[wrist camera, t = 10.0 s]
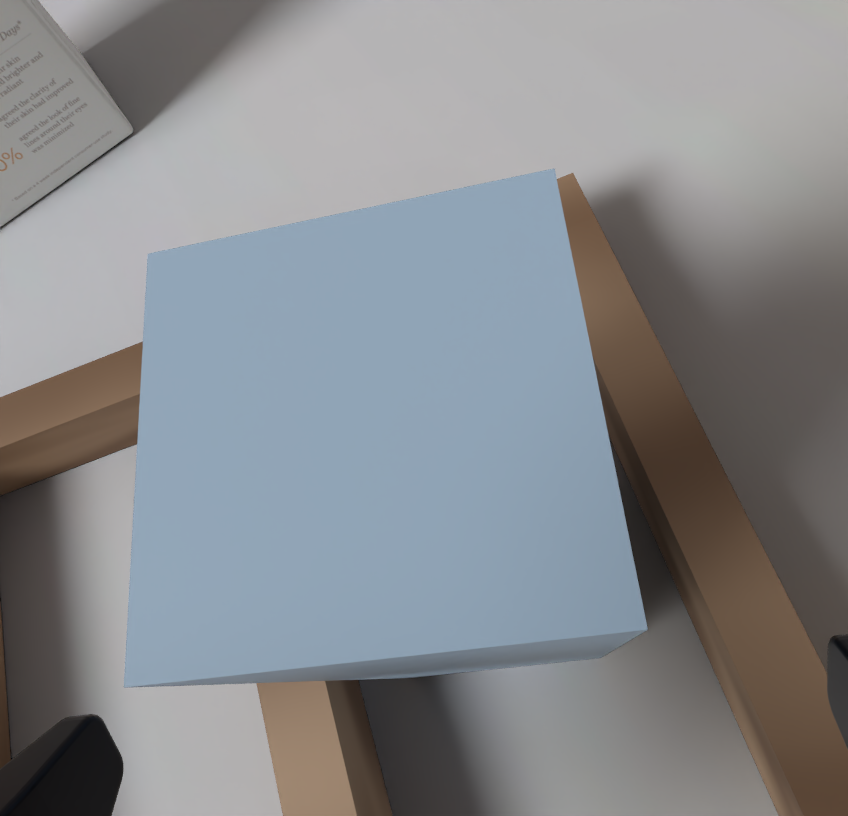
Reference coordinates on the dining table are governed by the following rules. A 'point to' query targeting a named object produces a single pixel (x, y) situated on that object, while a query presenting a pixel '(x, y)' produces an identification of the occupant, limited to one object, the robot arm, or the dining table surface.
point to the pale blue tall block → (375, 451)
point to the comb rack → (660, 502)
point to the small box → (47, 108)
